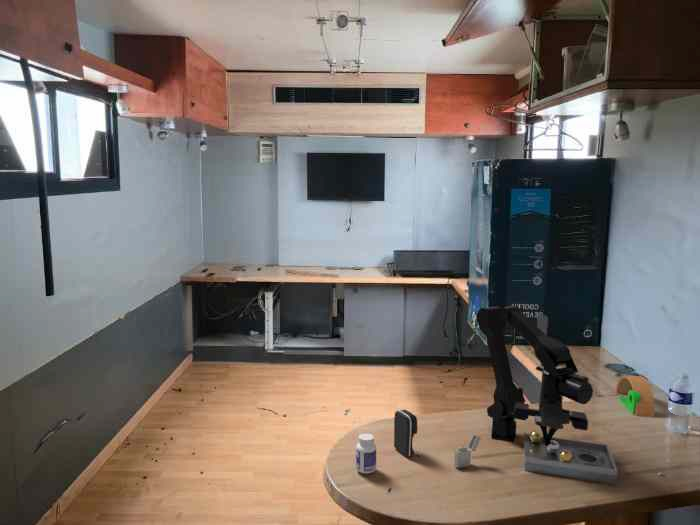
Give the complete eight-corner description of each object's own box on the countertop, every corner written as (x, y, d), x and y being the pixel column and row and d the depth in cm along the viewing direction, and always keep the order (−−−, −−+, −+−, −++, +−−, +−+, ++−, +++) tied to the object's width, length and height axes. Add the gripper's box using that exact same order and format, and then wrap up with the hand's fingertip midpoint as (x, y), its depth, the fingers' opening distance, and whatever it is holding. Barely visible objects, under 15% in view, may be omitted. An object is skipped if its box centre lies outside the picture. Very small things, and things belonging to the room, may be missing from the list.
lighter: (457, 468, 140) (458, 439, 139) (453, 465, 142) (455, 436, 141) (479, 463, 143) (481, 435, 142) (476, 460, 145) (477, 432, 144)
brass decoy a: (529, 444, 149) (530, 432, 149) (529, 438, 152) (529, 427, 152) (542, 446, 148) (542, 434, 148) (541, 440, 151) (542, 429, 151)
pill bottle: (378, 466, 141) (379, 434, 140) (371, 475, 136) (372, 443, 135) (360, 462, 143) (361, 430, 142) (352, 471, 138) (353, 438, 137)
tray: (524, 470, 140) (525, 457, 139) (523, 445, 154) (524, 433, 153) (616, 485, 133) (617, 471, 133) (606, 457, 148) (607, 444, 147)
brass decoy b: (558, 465, 138) (559, 452, 137) (557, 459, 141) (558, 447, 141) (572, 467, 137) (573, 454, 136) (571, 461, 140) (572, 448, 140)
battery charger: (418, 454, 147) (419, 415, 146) (407, 457, 145) (408, 418, 144) (403, 444, 153) (404, 406, 152) (392, 447, 152) (393, 409, 150)
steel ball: (544, 451, 143) (550, 441, 142) (543, 445, 147) (550, 436, 146) (556, 458, 143) (562, 448, 142) (555, 452, 146) (561, 442, 145)
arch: (631, 395, 193) (634, 368, 192) (654, 417, 173) (657, 388, 172) (614, 393, 194) (617, 367, 193) (635, 416, 174) (638, 387, 173)
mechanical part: (652, 417, 175) (654, 394, 174) (632, 416, 175) (634, 393, 174) (636, 403, 187) (638, 381, 185) (618, 402, 187) (620, 380, 186)
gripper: (515, 395, 138) (510, 452, 140) (593, 407, 132) (587, 466, 134) (515, 381, 148) (511, 434, 150) (588, 392, 143) (582, 447, 145)
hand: (546, 445), depth 144 cm, fingers closed, pressing on steel ball
